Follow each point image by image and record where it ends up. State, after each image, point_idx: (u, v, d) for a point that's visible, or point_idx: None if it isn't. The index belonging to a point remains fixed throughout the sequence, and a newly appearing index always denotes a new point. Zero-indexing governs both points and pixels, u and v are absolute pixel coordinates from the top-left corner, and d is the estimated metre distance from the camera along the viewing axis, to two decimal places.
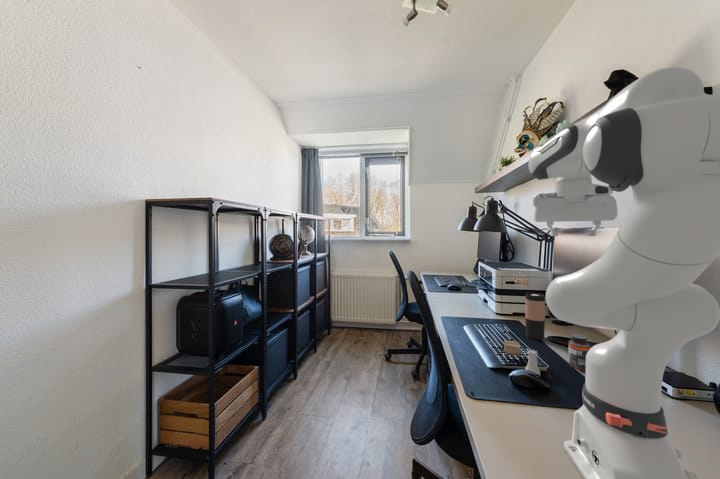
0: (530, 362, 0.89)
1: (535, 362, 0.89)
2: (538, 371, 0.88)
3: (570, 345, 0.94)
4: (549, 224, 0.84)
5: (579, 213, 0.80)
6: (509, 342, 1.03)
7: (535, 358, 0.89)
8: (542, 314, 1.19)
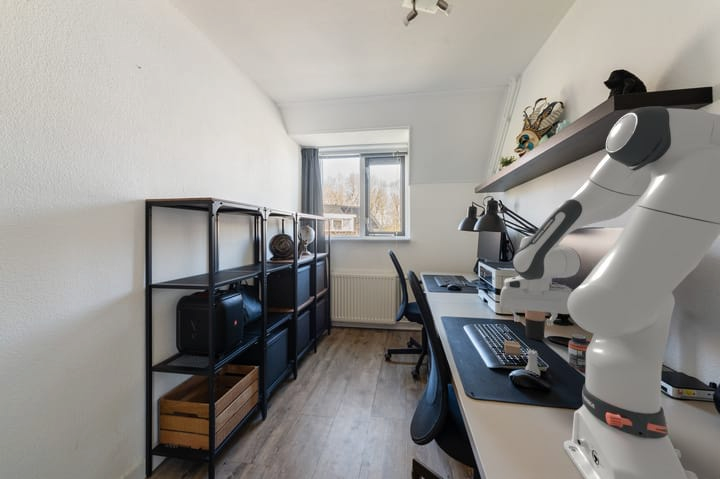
0: (530, 362, 0.89)
1: (535, 362, 0.89)
2: (538, 371, 0.88)
3: (570, 345, 0.94)
4: None
5: None
6: (509, 342, 1.03)
7: (535, 358, 0.89)
8: (542, 314, 1.19)
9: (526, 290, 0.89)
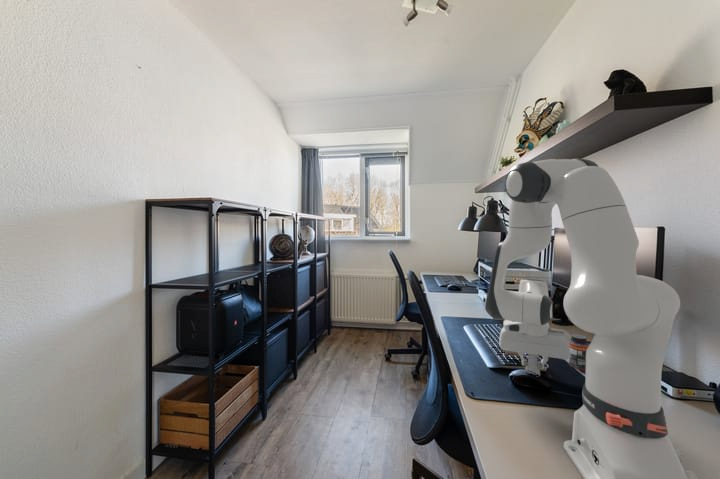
0: (530, 362, 0.89)
1: (535, 362, 0.89)
2: (538, 371, 0.88)
3: (570, 345, 0.94)
4: None
5: None
6: None
7: (535, 358, 0.89)
8: None
9: (525, 334, 0.89)
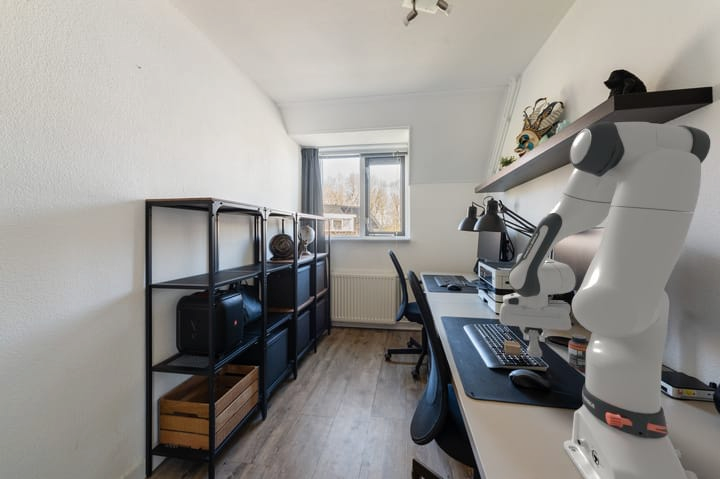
0: (531, 342, 0.88)
1: (536, 342, 0.88)
2: (540, 351, 0.87)
3: (570, 345, 0.94)
4: None
5: None
6: (509, 342, 1.03)
7: (536, 338, 0.88)
8: None
9: (525, 307, 0.88)
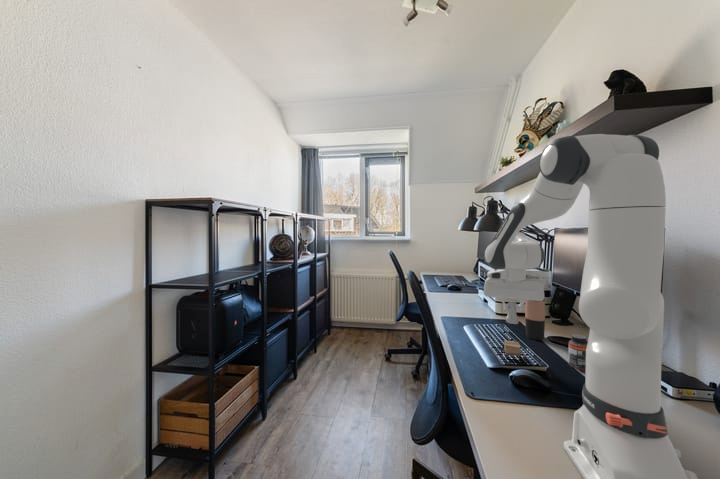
0: (510, 311, 1.01)
1: (514, 311, 1.00)
2: (517, 319, 1.00)
3: (570, 345, 0.94)
4: None
5: None
6: (509, 342, 1.03)
7: (514, 307, 1.00)
8: (542, 314, 1.19)
9: (506, 280, 1.01)
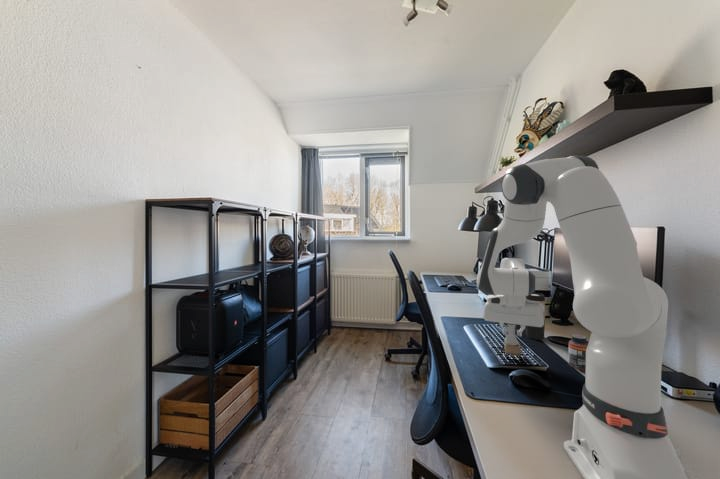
0: (509, 333, 1.01)
1: (513, 332, 1.01)
2: (516, 340, 1.00)
3: (570, 345, 0.94)
4: None
5: None
6: None
7: (513, 329, 1.01)
8: None
9: (505, 306, 1.01)
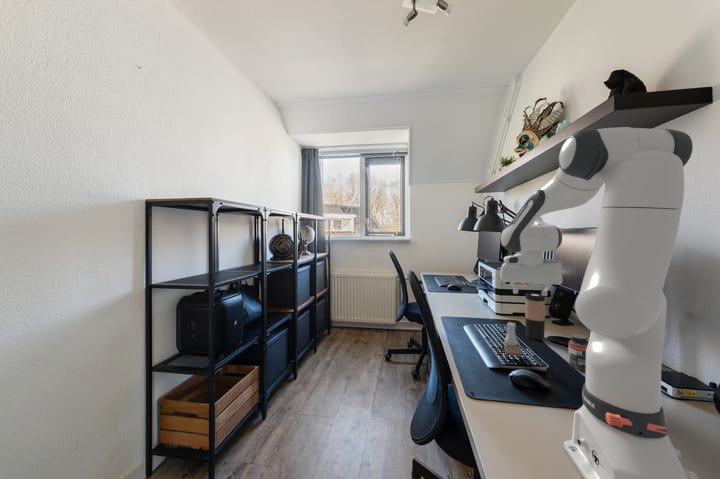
0: (509, 333, 1.01)
1: (513, 332, 1.01)
2: (516, 340, 1.00)
3: (570, 345, 0.94)
4: None
5: None
6: None
7: (513, 329, 1.01)
8: (542, 314, 1.19)
9: (523, 265, 1.01)
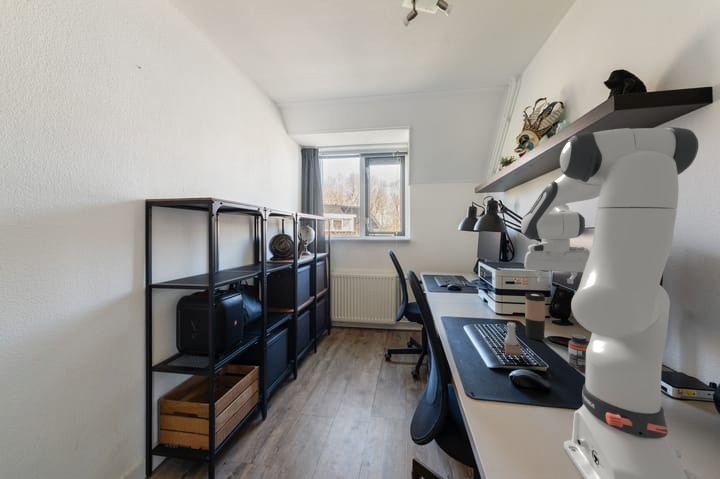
0: (509, 333, 1.01)
1: (513, 332, 1.01)
2: (516, 340, 1.00)
3: (570, 345, 0.94)
4: None
5: None
6: None
7: (513, 329, 1.01)
8: (542, 314, 1.19)
9: (549, 253, 1.01)
